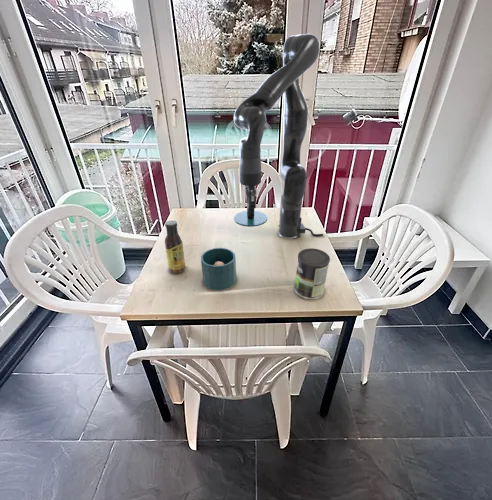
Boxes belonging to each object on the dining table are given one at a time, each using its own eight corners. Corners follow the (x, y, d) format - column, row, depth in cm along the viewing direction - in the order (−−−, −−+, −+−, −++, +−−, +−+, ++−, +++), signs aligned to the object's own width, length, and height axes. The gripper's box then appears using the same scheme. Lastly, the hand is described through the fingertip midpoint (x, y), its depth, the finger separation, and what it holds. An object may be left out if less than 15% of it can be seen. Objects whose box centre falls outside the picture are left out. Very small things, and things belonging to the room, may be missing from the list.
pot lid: (264, 212, 115) (264, 198, 112) (270, 227, 105) (270, 212, 101) (232, 214, 114) (232, 200, 111) (235, 229, 103) (234, 214, 100)
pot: (234, 269, 110) (234, 246, 104) (237, 289, 100) (236, 265, 94) (203, 272, 108) (201, 248, 103) (203, 292, 99) (200, 267, 93)
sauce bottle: (177, 276, 106) (169, 229, 96) (165, 270, 109) (156, 224, 98) (189, 267, 111) (183, 221, 100) (177, 262, 114) (170, 217, 103)
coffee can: (295, 299, 96) (299, 265, 88) (293, 280, 105) (296, 247, 97) (326, 300, 96) (333, 266, 88) (321, 281, 104) (326, 248, 97)
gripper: (264, 175, 93) (263, 222, 103) (258, 163, 105) (257, 207, 114) (241, 176, 93) (242, 224, 102) (237, 164, 104) (239, 208, 114)
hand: (250, 214), depth 108 cm, fingers closed on pot lid, 2 cm apart
